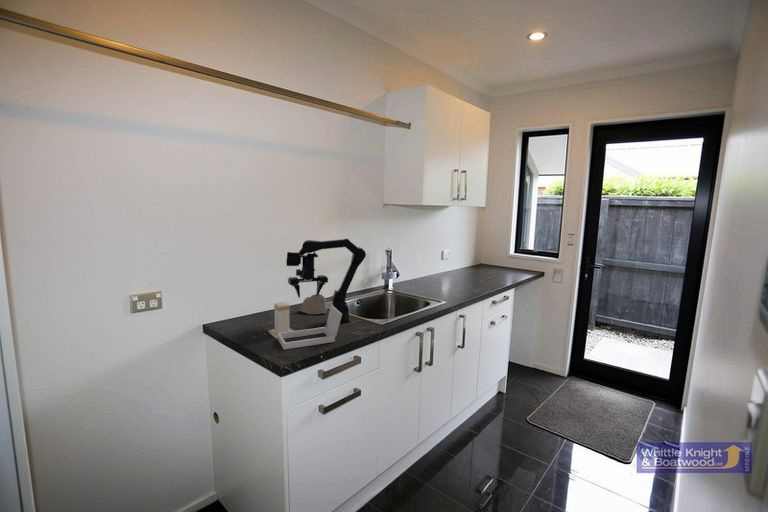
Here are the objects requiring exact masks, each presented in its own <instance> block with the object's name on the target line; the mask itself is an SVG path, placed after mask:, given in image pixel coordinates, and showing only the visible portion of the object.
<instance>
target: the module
mask: <svg viewBox="0 0 768 512" xmlns="http://www.w3.org/2000/svg"><path fill="white" fill-rule="evenodd" d="M273 305H274V307H273V308H274V329H275V331H276V332H277V333H283V332H290V328H291V326H290V309H291V308H290V307H291V306H290V304H289V303H287V302H286V301H283V302H277V303H274V304H273Z"/></svg>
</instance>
